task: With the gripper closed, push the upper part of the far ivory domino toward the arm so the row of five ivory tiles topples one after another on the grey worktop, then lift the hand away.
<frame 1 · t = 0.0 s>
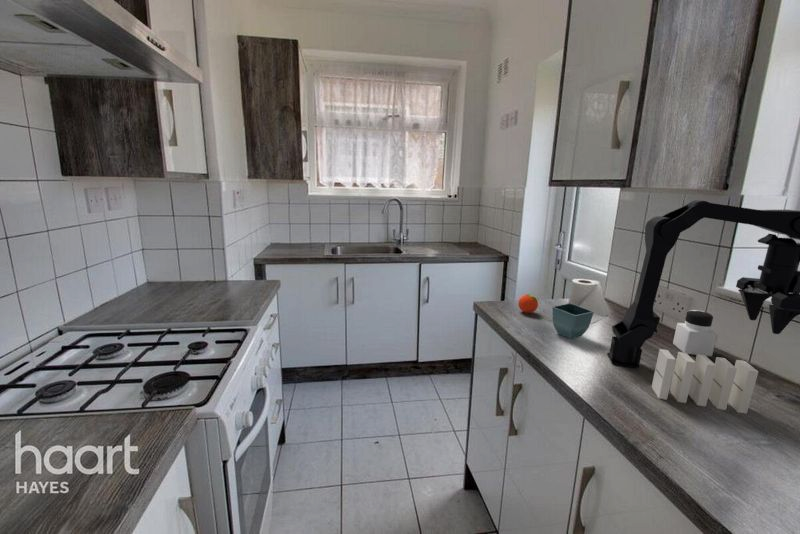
hand: (763, 326, 90), 15 cm above the worktop, fingers open, 9 cm apart
flower pot: (568, 335, 118), on the worktop
domino 1: (735, 406, 82), on the worktop
domino 4: (677, 396, 85), on the worktop
medicine bottle: (691, 350, 110), on the worktop
domino 2: (715, 403, 83), on the worktop
clementine: (528, 313, 137), on the worktop
domino 5: (659, 393, 86), on the worktop
domino 3: (696, 399, 84), on the worktop
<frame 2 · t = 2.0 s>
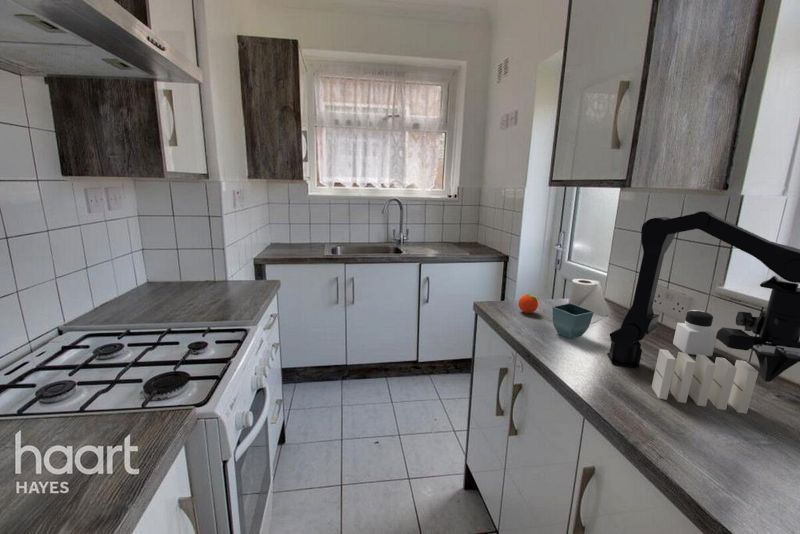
hand: (765, 380, 79), 7 cm above the worktop, fingers closed
nothing on the worktop moved.
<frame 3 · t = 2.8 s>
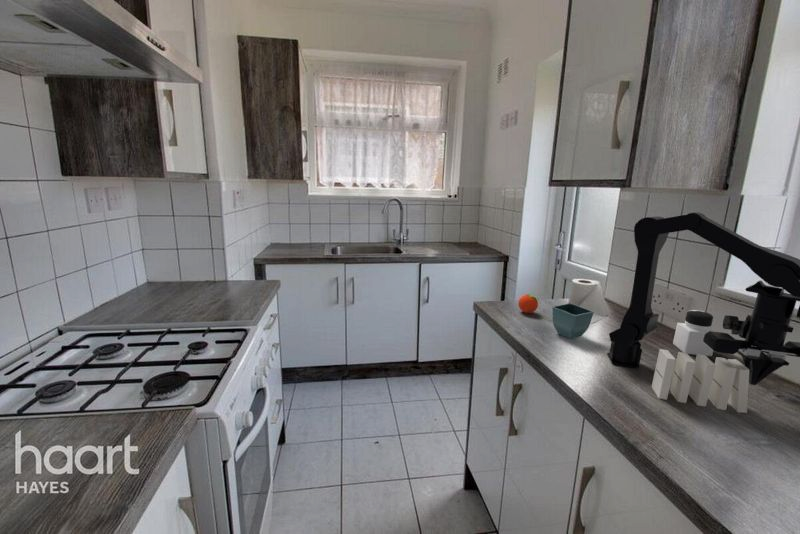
hand: (751, 383, 80), 6 cm above the worktop, fingers closed
domino 1: (735, 405, 82), on the worktop, tilted 9°
everything else where it was.
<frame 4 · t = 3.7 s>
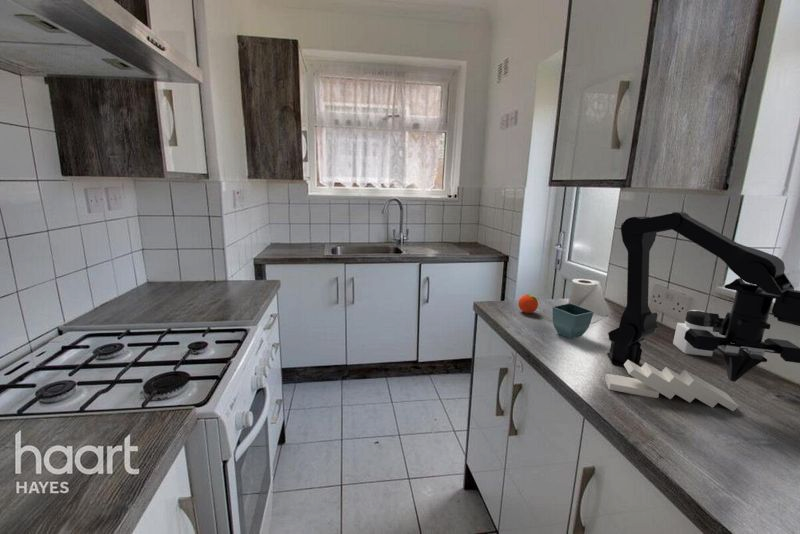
hand: (731, 380, 81), 6 cm above the worktop, fingers closed
domino 1: (729, 402, 82), point 1 cm above the worktop, tilted 64°, touching domino 2
domino 4: (668, 391, 85), point 1 cm above the worktop, tilted 64°, touching domino 3, domino 5
domino 2: (709, 399, 83), point 1 cm above the worktop, tilted 64°, touching domino 1, domino 3
domino 5: (654, 389, 86), point 1 cm above the worktop, tilted 89°, touching domino 4
domino 3: (687, 394, 84), point 1 cm above the worktop, tilted 64°, touching domino 2, domino 4
everything else where it was.
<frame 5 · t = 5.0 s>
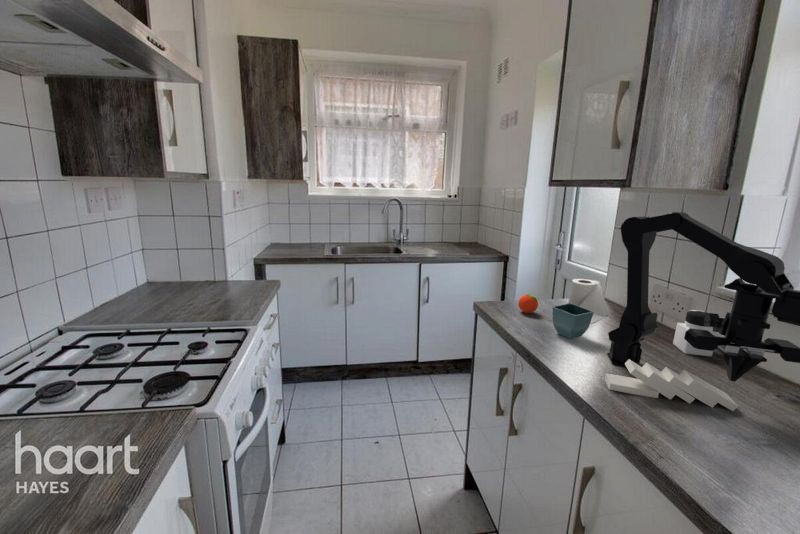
hand: (731, 380, 81), 6 cm above the worktop, fingers closed
domino 3: (687, 395, 84), point 1 cm above the worktop, tilted 62°, touching domino 2, domino 4
everything else where it was.
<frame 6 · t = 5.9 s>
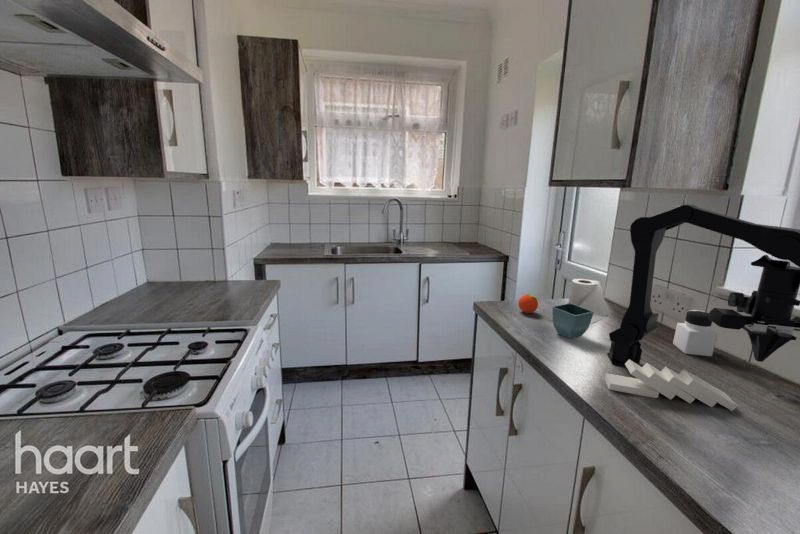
hand: (758, 360, 79), 11 cm above the worktop, fingers closed
domino 3: (687, 395, 84), point 1 cm above the worktop, tilted 62°, touching domino 2, domino 4
everything else where it was.
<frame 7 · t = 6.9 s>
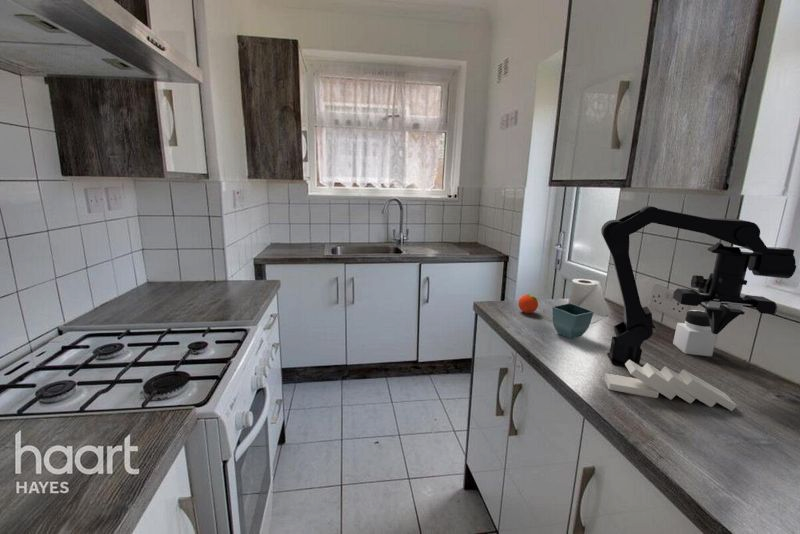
hand: (714, 333, 91), 12 cm above the worktop, fingers closed
nothing on the worktop moved.
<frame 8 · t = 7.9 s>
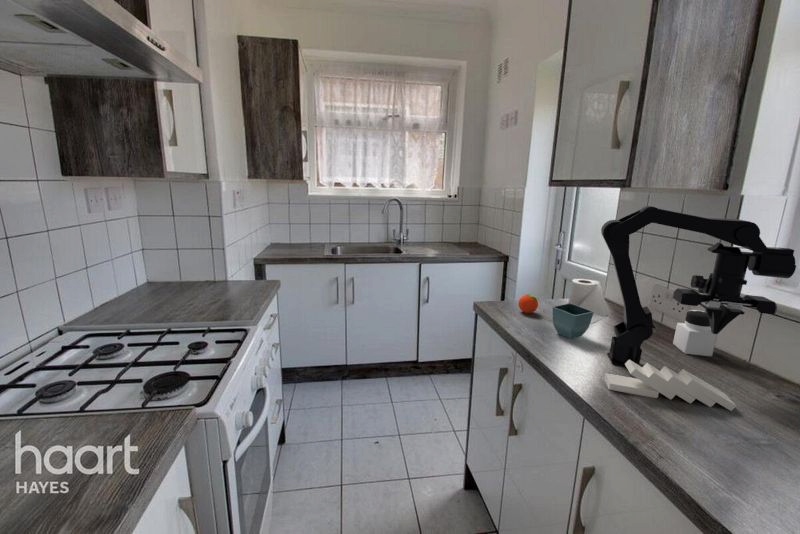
hand: (714, 333, 91), 12 cm above the worktop, fingers closed
nothing on the worktop moved.
at the end: domino 5 tilted 89°; domino 1 tilted 64° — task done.
